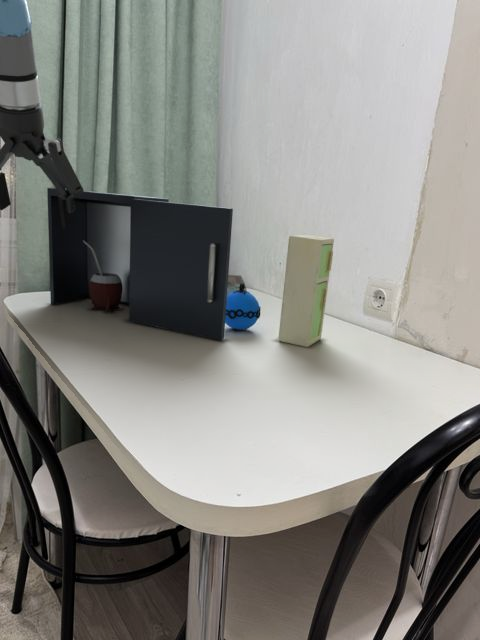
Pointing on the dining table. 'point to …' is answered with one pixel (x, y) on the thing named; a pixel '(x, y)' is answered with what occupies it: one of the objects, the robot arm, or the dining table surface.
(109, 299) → the mate gourd
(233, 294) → the ornament
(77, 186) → the robot arm
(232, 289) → the beverage carton
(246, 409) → the dining table surface
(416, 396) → the dining table surface
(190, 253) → the sliding door cabinet
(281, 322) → the toy refrigerator
